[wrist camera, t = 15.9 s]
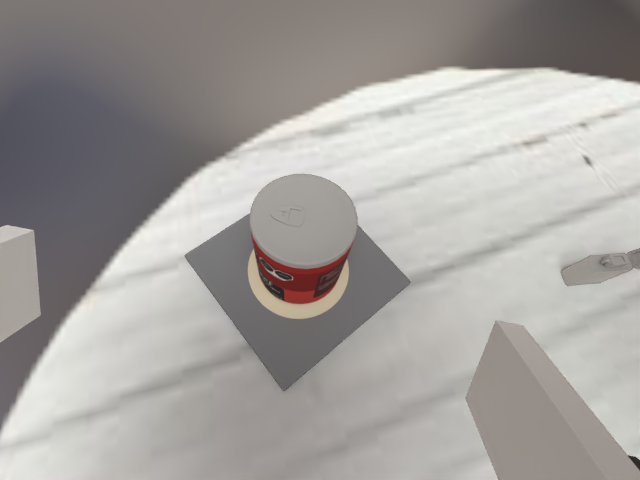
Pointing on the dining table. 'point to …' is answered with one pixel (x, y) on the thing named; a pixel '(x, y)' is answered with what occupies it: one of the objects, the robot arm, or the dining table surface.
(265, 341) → the mat
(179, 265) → the dining table surface
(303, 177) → the canned food
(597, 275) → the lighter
